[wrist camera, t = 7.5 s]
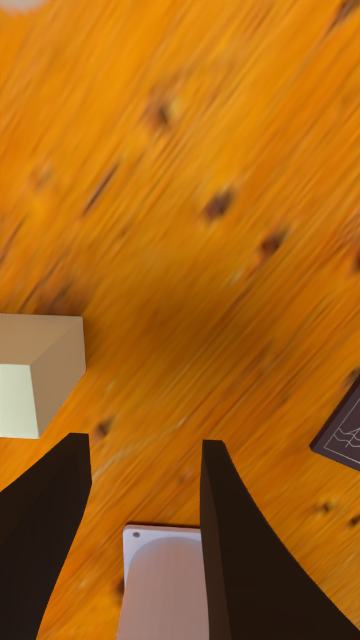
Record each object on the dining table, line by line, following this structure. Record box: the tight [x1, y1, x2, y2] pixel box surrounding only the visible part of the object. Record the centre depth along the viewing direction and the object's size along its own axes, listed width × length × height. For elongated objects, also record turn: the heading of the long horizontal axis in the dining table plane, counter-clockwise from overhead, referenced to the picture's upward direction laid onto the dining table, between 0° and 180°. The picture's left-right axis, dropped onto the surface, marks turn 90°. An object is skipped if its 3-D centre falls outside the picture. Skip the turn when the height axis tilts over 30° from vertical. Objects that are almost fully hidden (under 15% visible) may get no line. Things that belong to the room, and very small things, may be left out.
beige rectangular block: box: [0, 313, 86, 439], centre depth 17 cm, size 6×4×6 cm, turn 88°
